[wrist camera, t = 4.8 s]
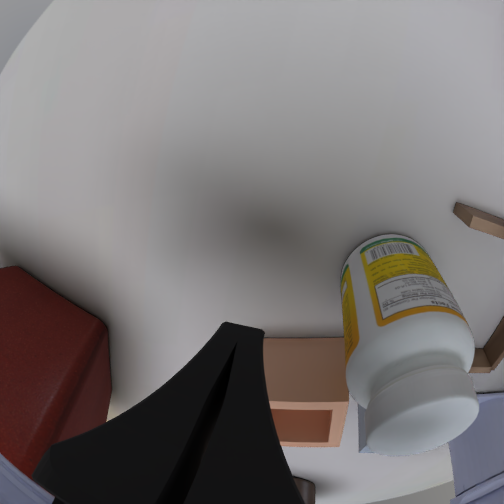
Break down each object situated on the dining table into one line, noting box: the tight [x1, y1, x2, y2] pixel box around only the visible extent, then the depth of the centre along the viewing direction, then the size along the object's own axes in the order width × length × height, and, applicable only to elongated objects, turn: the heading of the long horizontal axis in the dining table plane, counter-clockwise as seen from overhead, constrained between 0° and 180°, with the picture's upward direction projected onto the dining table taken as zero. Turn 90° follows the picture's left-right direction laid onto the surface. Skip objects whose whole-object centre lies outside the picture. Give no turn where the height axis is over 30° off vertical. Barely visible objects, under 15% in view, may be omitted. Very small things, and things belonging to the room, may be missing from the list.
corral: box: [453, 202, 504, 373], centre depth 13 cm, size 9×10×2 cm
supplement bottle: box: [340, 234, 479, 456], centre depth 11 cm, size 5×5×10 cm
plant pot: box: [0, 266, 112, 497], centre depth 17 cm, size 19×19×17 cm
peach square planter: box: [263, 337, 349, 447], centre depth 17 cm, size 6×6×5 cm
